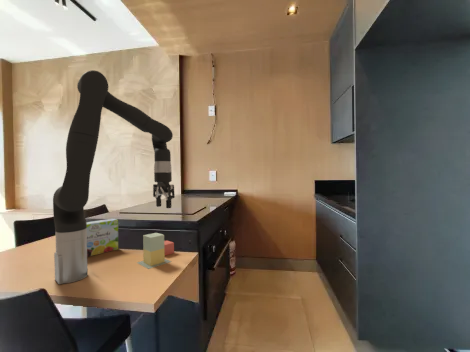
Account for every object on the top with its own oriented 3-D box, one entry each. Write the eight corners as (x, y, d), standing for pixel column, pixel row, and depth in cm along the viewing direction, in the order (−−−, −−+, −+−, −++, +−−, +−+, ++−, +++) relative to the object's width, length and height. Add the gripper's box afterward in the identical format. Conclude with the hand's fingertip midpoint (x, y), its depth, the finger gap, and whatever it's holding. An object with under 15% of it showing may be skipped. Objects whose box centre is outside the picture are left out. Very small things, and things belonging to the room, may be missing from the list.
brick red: (162, 258, 105) (161, 245, 105) (155, 255, 109) (155, 243, 109) (174, 254, 110) (173, 242, 110) (166, 252, 114) (166, 240, 114)
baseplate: (148, 270, 91) (148, 268, 91) (136, 264, 98) (136, 262, 98) (171, 263, 98) (171, 261, 98) (158, 258, 105) (158, 256, 105)
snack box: (69, 262, 102) (69, 226, 102) (64, 259, 106) (64, 225, 106) (119, 249, 119) (118, 218, 119) (113, 247, 123) (112, 217, 123)
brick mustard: (150, 266, 94) (150, 251, 94) (143, 262, 98) (143, 248, 98) (164, 261, 98) (164, 248, 98) (157, 258, 102) (156, 245, 102)
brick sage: (150, 251, 94) (150, 237, 94) (143, 248, 98) (143, 235, 98) (164, 248, 98) (164, 234, 98) (156, 245, 102) (156, 232, 102)
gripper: (147, 172, 111) (148, 207, 111) (163, 171, 102) (164, 209, 102) (162, 171, 117) (162, 205, 117) (178, 171, 107) (179, 207, 107)
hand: (163, 207), depth 109 cm, fingers open, 8 cm apart
